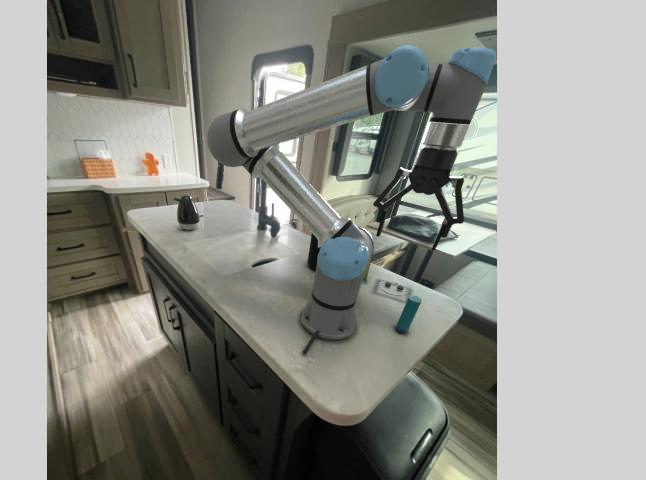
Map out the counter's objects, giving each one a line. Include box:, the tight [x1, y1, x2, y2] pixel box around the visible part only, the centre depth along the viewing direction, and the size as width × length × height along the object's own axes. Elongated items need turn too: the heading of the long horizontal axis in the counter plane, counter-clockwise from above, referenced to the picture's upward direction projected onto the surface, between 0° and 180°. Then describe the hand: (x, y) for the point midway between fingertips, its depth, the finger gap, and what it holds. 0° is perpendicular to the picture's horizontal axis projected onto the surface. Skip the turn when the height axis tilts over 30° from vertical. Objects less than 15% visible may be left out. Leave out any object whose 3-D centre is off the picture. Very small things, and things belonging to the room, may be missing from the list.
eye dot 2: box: [396, 285, 405, 291], centre depth 91 cm, size 2×2×1 cm
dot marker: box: [395, 294, 423, 335], centre depth 72 cm, size 3×3×11 cm
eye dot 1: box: [384, 282, 392, 288], centre depth 92 cm, size 2×2×1 cm
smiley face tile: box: [378, 280, 409, 297], centre depth 92 cm, size 10×11×1 cm
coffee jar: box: [307, 232, 320, 271], centre depth 99 cm, size 11×11×18 cm
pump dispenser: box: [173, 194, 201, 231], centre depth 124 cm, size 10×10×15 cm
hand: (404, 241), depth 69 cm, fingers open, 13 cm apart
